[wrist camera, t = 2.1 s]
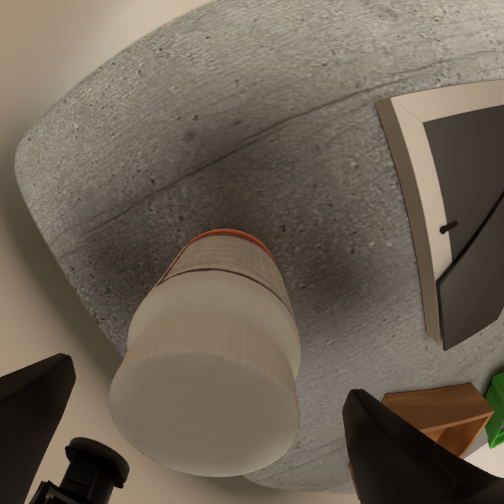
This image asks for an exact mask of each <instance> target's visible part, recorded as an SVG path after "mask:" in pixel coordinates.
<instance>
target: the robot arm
mask: <svg viewBox="0 0 504 504" xmlns="http://www.w3.org/2000/svg"><path fill="white" fill-rule="evenodd" d="M75 380H76V374H75V370H74V366H73V361H72V358H71V356H69V355H66V354H62V353H59V354H56V355H54V356H51V357H49V358H47V359H44V360H42V361H39V362H37V363H34V364H32V365H30V366H27V367H25V368H22V369H19V370H17V371H15V372H12V373H10V374H7V375H5V376H2V377H0V504H24V502H25V499H26V497H27V495H28V492H29V489H30V487H31V484H32V482H33V480H34V477H35V475H36V473H37V470H38V468H39V466H40V463H41V461H42V459H43V456H44V454H45V452H46V450H47V448H48V445H49V443H50V441H51V439H52V437H53V435H54V433H55V430H56V428H57V426H58V424H59V422H60V420H61V418H62V416H63V413H64V410H65V408H66V405H67V402H68V399H69V396H70V394H71V391H72V389H73V386H74V383H75ZM342 415H343V422H344V429H345V436H346V444H347V451H348V455H349V459H350V463H351V467H352V471H353V475H354V479H355V483H356V487H357V491H358V495H359V499H360V503H361V504H504V478H500V477H496V476H494V475H491V474H490V473H488V472H486V471H484V470H482V469H480V468H478V467H476V466H474V465H472V464H470V463H468V462H467V461H465V460H463V459H461V458H460V457H458V456H456V455H455V454H453V453H451V452H450V451H448V450H447V449H445V448H444V447H442V446H441V445H439V444H438V443H436V442H435V441H434V440H432V439H431V438H429V437H428V436H427V435H425V434H424V433H422V432H421V431H419V430H418V429H417V428H415V427H414V426H412V425H411V424H410V423H408V422H407V421H406V420H404V419H403V418H401V417H400V416H399V415H397V414H396V413H395V412H393V411H392V410H390V409H389V408H388V407H386V406H385V405H384V404H382V403H381V402H380V401H378V400H377V399H376V398H374V397H373V396H372V395H370V394H369V393H368V392H366V391H365V390H363V389H352V390H350V392H349V393H348V396H347V399H346V401H345V404H344V406H343V410H342ZM65 451H66V453H67V455H68V457H69V459H70V461H71V462H70V464H69V467H68V469H67V471H66V473H65V475H64V478H63V480H62V482H61V484H60V486H59V487H58V486H56V485H54V484H53V483H52V482H51V481H49V480H48V482H43V481H41V483H40V485H39V487H38V489H37V491H36V493H35V494H34V496H33V498H32V499H31V501H30V503H29V504H108V502H109V499H110V496H111V493H112V490H113V487H117V488H120V489H123V487H124V485H123V482H122V480H121V477H120V474H119V472H118V469H117V466H116V463H115V462H114V461H112V460H109V459H106V458H103V457H99V456H96V455H93V454H90V453H87V452H84V451H81V450H78V449H75V448H72V447H70V446H66V447H65Z"/></svg>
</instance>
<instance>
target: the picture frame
mask: <svg viewBox="0 0 504 504" xmlns="http://www.w3.org/2000/svg"><path fill="white" fill-rule="evenodd" d="M375 106H376V109H377V112H378V114H379V117H380V120H381V123H382V126H383V129H384V131H385V134H386V137H387V140H388V144H389V147H390V150H391V153H392V156H393V160H394V163H395V166H396V170H397V173H398V177H399V181H400V184H401V188H402V192H403V196H404V200H405V204H406V208H407V212H408V217H409V221H410V226H411V231H412V236H413V241H414V246H415V251H416V257H417V263H418V269H419V275H420V282H421V289H422V297H423V306H424V315H425V326H426V332H427V333H428V334H429V335H430V336H431V337H432V338H433V340H434V341H435V342H436V343H437V344H438V345H439V346H440V345H442V344H443V350H444V351H446V350H448V349H450V348H452V347H453V346H455V345H457V344H459V343H460V342H462V341H464V340H466V339H467V338H469V337H471V336H472V335H474V334H475V333H477V332H479V331H480V330H482V329H483V328H485V327H487V326H488V325H490V324H491V323H493V322H494V321H496V320H497V319H498V317H499V315H500V313H501V311H502V309H503V307H504V79H501V80H491V81H482V82H474V83H466V84H459V85H453V86H446V87H440V88H434V89H429V90H423V91H418V92H413V93H408V94H403V95H399V96H394V97H390V98H387V99H385V100H383V101H380V102H378V103H376V104H375Z"/></svg>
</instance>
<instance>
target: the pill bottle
mask: <svg viewBox="0 0 504 504" xmlns="http://www.w3.org/2000/svg"><path fill="white" fill-rule="evenodd" d="M127 351H128V352H127V354H126V356H125V358H124V360H123V362H122V364H121V365H120V367H119V369H118V371H117V372H116V374H115V376H114V378H113V381H112V383H111V386H110V390H109V398H108V400H109V408H110V412H111V415H112V418H113V421H114V423H115V424H116V426H117V428H118V430H119V431H120V432H121V434H122V435H123V436H124V438H125V439H126V440H127V441H128V442H129V443H130V444H131V445H132V446H133V447H134V448H136V449H137V450H138V451H140V452H141V453H142V454H144V455H145V456H147V457H148V458H150V459H152V460H153V461H155V462H158V463H160V464H162V465H164V466H166V467H169V468H171V469H175V470H177V471H181V472H184V473H188V474H193V475H199V476H209V477H227V476H236V475H242V474H246V473H250V472H253V471H256V470H259V469H261V468H264V467H266V466H268V465H270V464H271V463H273V462H275V461H276V460H278V459H279V458H280V457H281V456H283V455H284V454H285V453H286V452H287V451H288V450H289V448H290V447H291V446H292V444H293V443H294V441H295V439H296V437H297V434H298V431H299V427H300V411H299V405H298V399H297V394H296V387H295V380H296V378H297V375H298V372H299V368H300V362H301V346H300V339H299V333H298V328H297V325H296V322H295V318H294V313H293V310H292V307H291V303H290V300H289V297H288V294H287V291H286V288H285V285H284V282H283V279H282V276H281V273H280V270H279V268H278V265H277V262H276V260H275V258H274V256H273V255H272V253H271V252H270V250H269V249H268V248H267V247H266V246H265V245H264V244H263V243H262V242H261V241H259V240H258V239H257V238H255V237H253V236H252V235H250V234H247V233H245V232H242V231H238V230H233V229H215V230H211V231H208V232H205V233H202V234H200V235H198V236H197V237H195V238H193V239H192V240H191V241H190V242H188V243H187V244H186V245H185V246H184V247H183V249H182V250H181V251H180V252H179V254H178V255H177V256H176V258H175V259H174V260H173V262H172V263H171V264H170V266H169V267H168V268H167V270H166V271H165V273H164V274H163V275H162V277H161V278H160V279H159V280H158V282H157V283H156V285H155V286H154V287H153V289H152V290H151V291H150V292H149V294H148V295H147V296H146V297H145V298H144V299H143V301H142V302H141V304H140V306H139V307H138V309H137V310H136V312H135V314H134V316H133V318H132V321H131V324H130V327H129V331H128V338H127Z"/></svg>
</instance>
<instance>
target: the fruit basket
mask: <svg viewBox="0 0 504 504" xmlns="http://www.w3.org/2000/svg"><path fill="white" fill-rule="evenodd" d="M485 400H486V401H487V402H488V403H489V405H490V406H491V407H492V408H493V409H494V413H493V414H492V416H491V417H490V419H489V420H488V422H487V424H486V425H485V429H486V432H487V435H488V443H489V448H490V449H491V448H494V447H496V446H497V445H499V444H501V443H503V442H504V372H501V373H499V374H497V375H495V376H493V378H492V382H491V385H490V387H489V389H488V391H487V394H486V396H485Z"/></svg>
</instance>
